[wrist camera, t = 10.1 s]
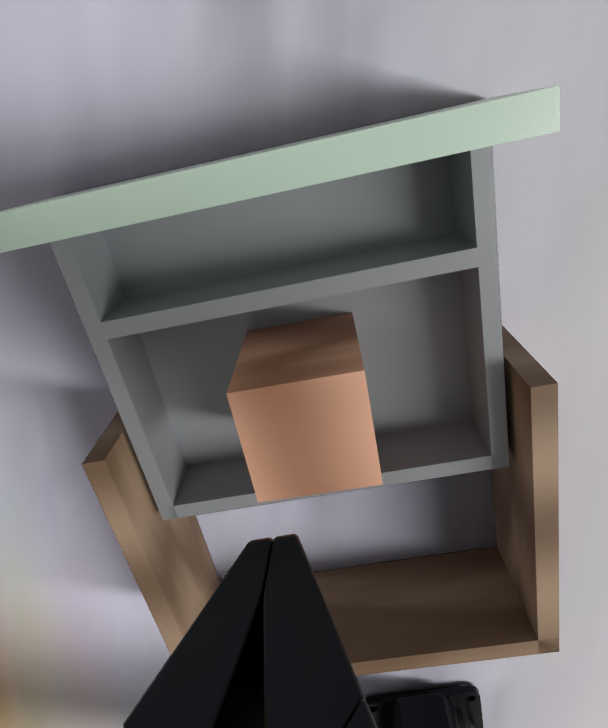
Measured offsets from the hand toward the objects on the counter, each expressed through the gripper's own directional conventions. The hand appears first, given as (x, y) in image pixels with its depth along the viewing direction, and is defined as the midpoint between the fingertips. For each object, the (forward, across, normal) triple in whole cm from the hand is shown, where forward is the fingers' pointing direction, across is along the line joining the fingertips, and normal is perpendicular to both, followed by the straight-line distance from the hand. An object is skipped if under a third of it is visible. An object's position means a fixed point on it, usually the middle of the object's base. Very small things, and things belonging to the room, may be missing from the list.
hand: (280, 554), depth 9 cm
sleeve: (+12, 0, +8) cm, 14 cm away
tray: (+12, 0, 0) cm, 12 cm away
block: (+11, 0, +2) cm, 11 cm away
